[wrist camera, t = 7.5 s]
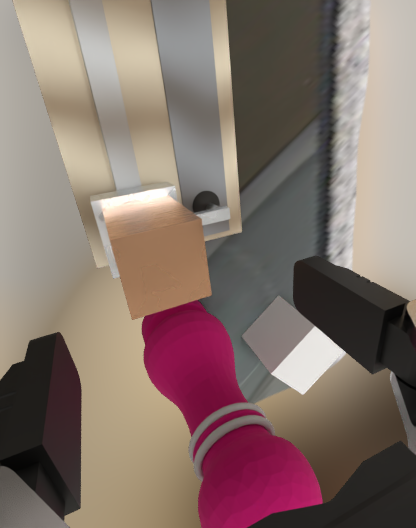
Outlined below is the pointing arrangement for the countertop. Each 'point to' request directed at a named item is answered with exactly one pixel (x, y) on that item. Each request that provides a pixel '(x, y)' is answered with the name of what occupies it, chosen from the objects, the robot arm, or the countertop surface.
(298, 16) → the countertop surface
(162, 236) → the slider
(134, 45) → the board
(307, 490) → the pepper mill
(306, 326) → the white cube
